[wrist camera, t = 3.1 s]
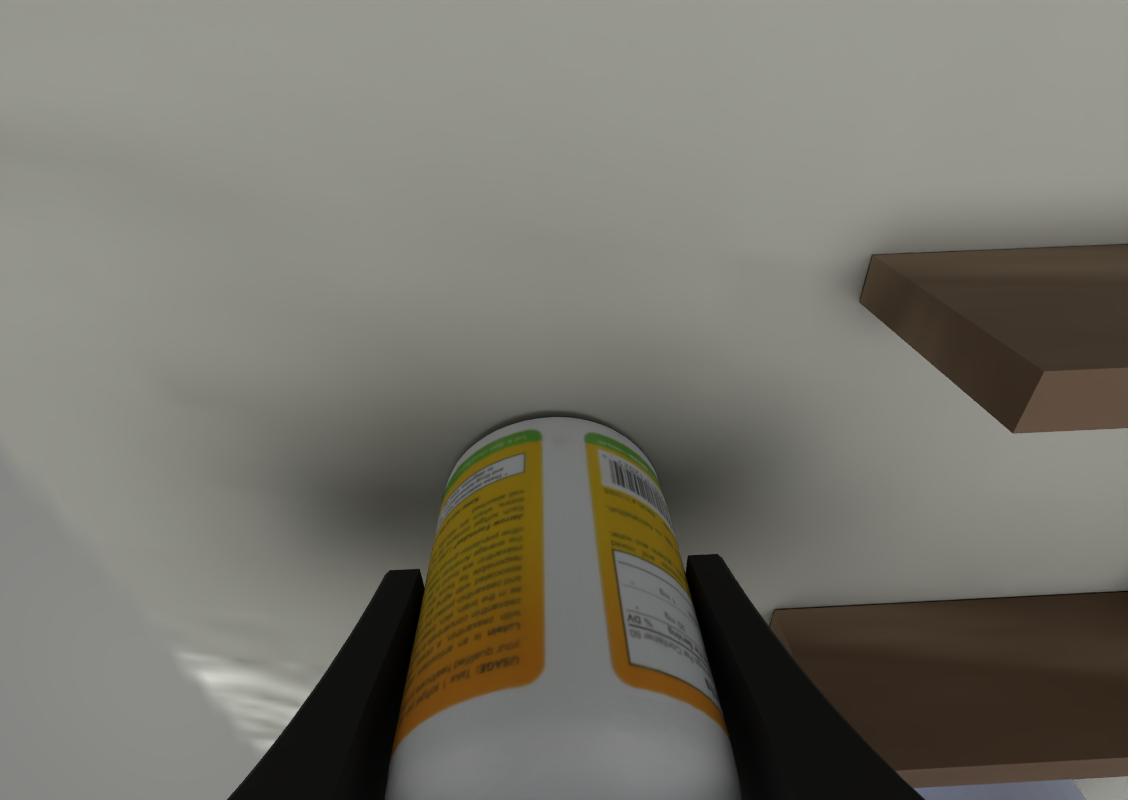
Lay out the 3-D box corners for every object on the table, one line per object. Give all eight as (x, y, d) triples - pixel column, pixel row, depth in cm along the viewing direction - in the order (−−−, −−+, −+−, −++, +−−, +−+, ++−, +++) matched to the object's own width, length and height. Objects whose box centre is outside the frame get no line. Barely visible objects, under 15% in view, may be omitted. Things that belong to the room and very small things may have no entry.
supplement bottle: (446, 565, 16) (345, 1155, 7) (442, 402, 13) (270, 1082, 4) (640, 572, 16) (746, 1135, 8) (679, 416, 13) (913, 1054, 5)
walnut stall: (1146, 610, 18) (1309, 765, 14) (769, 630, 18) (831, 792, 14) (1469, 230, 11) (1933, 331, 8) (872, 254, 11) (1044, 371, 7)
